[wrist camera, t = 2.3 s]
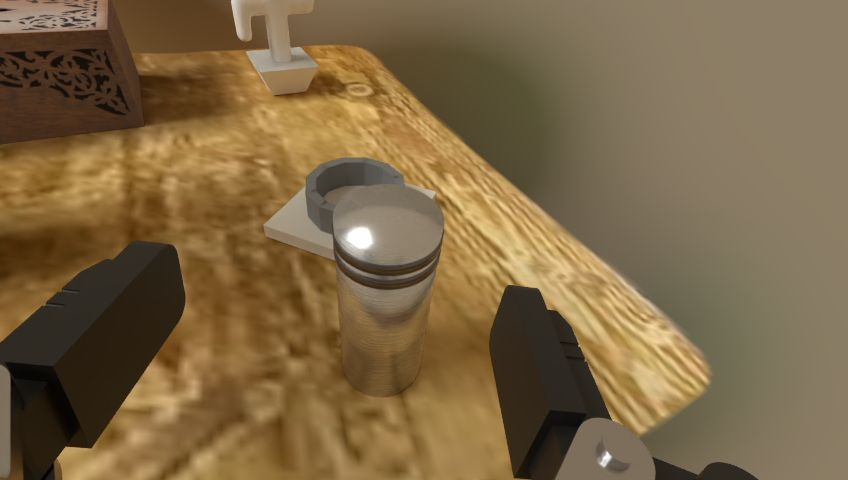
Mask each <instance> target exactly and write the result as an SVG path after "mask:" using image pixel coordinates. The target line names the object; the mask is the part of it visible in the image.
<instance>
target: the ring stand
mask: <svg viewBox="0 0 848 480" xmlns="http://www.w3.org/2000/svg"><path fill="white" fill-rule="evenodd" d="M378 184H392V185H400V186H405V187H409V188H412V189H415V190H417V191H420V192H422V193H423V194H425V195H427V196H428V197H430V198H431V199H432V200H433V201H434V202H435V199H436V192H434V191H431V190H428V189H424V188H421V187H418V186H414V185H411V184H408V183H404V179H403V175H401V174H400V173H399V172H398V171H396V170H395V169H394V168H393V167H391V166H390V165H389V164H386V163H383V162H380V161H376V160H373V159H369V158H339V159H336V160H333V161H329V162H326V163H323V164H320V165H319V166H318V167H317V168H316V169H314V170H313V171H312V172H311V173H310V174H309V175H308V176H307V177H306V186H305V187H304V188H303V189H302V190H301V191H299V192H298V193H297V194H296V195H295V196H294V197H293V198H292V199H291V200H290V201H289V202H288V203H287V204H285V205H284V206H283V207H282V208H281V209H280V210H279V211H278V212H277V213H276V214H275V215H274V216H272V217H271V218H270V219H269V220H268V221H267V222H266V223H265V224H264V225H263V227H264V232H265V236H266V237H269V238H272V239H275V240H277V241H280V242H283V243H286V244H289V245H292V246H294V247H297V248H300V249H303V250H306V251H309V252H311V253H314V254H317V255H320V256H323V257H325V258H328V259H331V260H334V261H335V258H334V251H333V236H332V223H333V212H334V209H335V207H336V205H337V204H338V202H339V201H340V200H341V199H342V198H343V197H344V196H346V195H347V194H349V193H350V192H352V191H354V190H357V189H359V188H362V187H366V186H371V185H378Z"/></svg>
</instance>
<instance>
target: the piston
mask: <svg viewBox="0 0 848 480" xmlns="http://www.w3.org/2000/svg"><path fill="white" fill-rule="evenodd" d="M443 227H444V217H443V213H442V211H441V209H440V208H439V206H438V205H437V204H436V202H434V201H433V200H432V199H431V198H430V197H428V196H427V195H425V194H423V193H422V192H420V191H417V190H415V189H412V188H409V187H405V186H400V185H392V184H378V185H371V186H366V187H362V188H359V189H357V190H354V191H352V192H350V193H349V194H347V195H346V196H344V197H343V198H342V199H341V200H340V201H339V202H338V204H337V205H336V207H335V209H334V212H333V223H332V236H333V251H334V258H335V262H336V277H337V292H338V307H339V323H340V338H341V353H342V367H343V372H344V374H345V377H346V378H347V380H348V382H349V383H350V384H351V385H352V386H353V387H354V388H355V389H357V390H358V391H360V392H362V393H364V394H367V395H370V396H375V397H386V396H391V395H395V394H397V393H399V392H401V391H403V390H405V389H406V388H407V387H408V386H410V385H411V383H412V382H413V381H414V380H415V378H416V376H417V374H418V371H419V367H420V362H421V356H422V350H423V344H424V338H425V332H426V327H427V321H428V315H429V309H430V303H431V297H432V291H433V285H434V280H435V274H436V268H437V265H438V262H439V257H440V252H441V246H442V240H443V234H444V229H443Z"/></svg>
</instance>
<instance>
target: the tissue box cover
mask: <svg viewBox="0 0 848 480" xmlns="http://www.w3.org/2000/svg"><path fill="white" fill-rule="evenodd" d="M143 126H144V117H143V108H142V99H141V90H140V81H139V74H138V71H137V69H136V66H135V63H134V60H133V58H132V55H131V52H130V49H129V47H128V44H127V41H126V38H125V36H124V33H123V30H122V27H121V24H120V22H119V19H118V17H117V13H116V11H115V8H114V5H113V2H112V0H0V144H6V143H14V142H22V141H30V140H38V139H47V138H55V137H63V136H71V135H79V134H87V133H95V132H103V131H111V130H119V129H127V128H135V127H143Z"/></svg>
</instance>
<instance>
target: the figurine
mask: <svg viewBox="0 0 848 480" xmlns="http://www.w3.org/2000/svg"><path fill="white" fill-rule="evenodd" d="M231 3H232V10H233V15H234V20H235V25H236V31H237V35H238V37H239V38H240V39H241V40H242V41H250V40H251V39H252V31H251V24H250V19H251V16H255V15H265V20H266V27H267V34H268V41H269V48H270V49H269V50H257V51H245V52H246V54H247V55H248V57H249V59H250V60H251V62H252V64H253V65H254V67H255V68H256V70H257V72H258V73H259V75H260V77H261V78H262V80H263V82H264V83H265V85H266V86H267V87H268V89H269V90H270V92H271V93H272V95H273V96H274V95H282V94H290V93H298V92H306V91H307V89H308V87H309V85H310V83H311V81H312V79H313V77H314V75H315V73H316V71H317V69H318V67H319V66H318V65H317V64H316V63H315V62H314V61H313V60H312V59H311V58H310V57H309V56H308V55H307V54H306V53H305V51H304V50H303V49H302V48H301V47H295V48H290V39H289V30H288V22H287V16H288V15H289V14H299V13H300V14H301V13H309V12H310V11H312V9H313V5H314V0H231Z"/></svg>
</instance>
